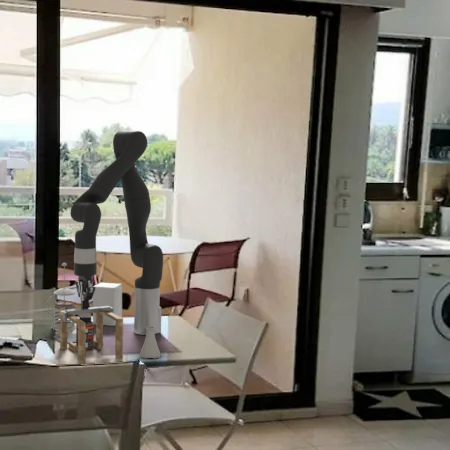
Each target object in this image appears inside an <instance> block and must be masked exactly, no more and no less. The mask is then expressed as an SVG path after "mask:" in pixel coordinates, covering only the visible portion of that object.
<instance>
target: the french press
mask: <svg viewBox="0 0 450 450" xmlns="http://www.w3.org/2000/svg"><path fill="white" fill-rule="evenodd" d="M67 265H68V263H66V262H63V263H61V266H62V267H63V287H62V288H61V287H60V288H58V289H56V290H55V291H53V295H51V296H50V297H48V299H47V300H46V302H45V309H46V312H47V313H48V314H49V315H51V316H52V317H53V318H52V321H53V322H52V327H53V326H54V327H55V330H56V332H60V311H64V310H69V309H76V308H75V307H76V306H75V305H74V304H75V303H74V301H72V300H65V298H66V297H65V296H74V295H75V294H76V291H75V290H73V289H71V288H70V287H69V288H68V287H66V285H65V284H66V283H65V281H66V277H65V276H66V275H65V274H66V273H65V272H66V268H65V267H67ZM56 296H63V300H58V301H55V302H54V305H55V306H54V307H53V312H51V311H50V309H49V305H48V304H49V303H48V302H49V300H50V299H51V298H52V300H56V299H55V298H56ZM74 316H75V315H74ZM75 317H76V316H75ZM75 329H76V323H74V322H72V321H71V320H69V319H67V332H72V330H73V331H76V330H75Z"/></svg>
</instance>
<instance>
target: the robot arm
mask: <svg viewBox="0 0 450 450" xmlns="http://www.w3.org/2000/svg"><path fill="white" fill-rule="evenodd" d="M112 146H113V151H114V152H113V153H114V155H115V160H114V161H113V162H112V163H109V165H108V166H106V167H105V168H104V169H102V170H101V171H100V173H99V174H98V175H97V176H96V177H95V179H94V180H93V182H92V184H90V185H89V188H88V189H87V190H86V191H84V193H82V194H81V195H80V196H79V197H78V198H77V199H76V200H75V201H74V203H73V204H72V206H71V208H70V217H71V219H72V220H73V221H75V222H77V223H83V225H82V229H79V230H76V232H75V234H74V253H73V274H74V276H77V277H78V280H76V281H75V287H76V292H77V295H78V296H77V297H78V298H79V299H80V308H89V307H90V300H92V301H93V294H94V291H95V287H93V286H94V285H93V277H94V276H96V275H97V270H98V269H97V266H98V265H97V264H98V263H97V260H98V259H97V257H98V256H97V254H98V253H97V234H98V230H99V228H100V227H99V226H100V223H101V218H102V211H101V208H100V206H99V204H103V203H105V202H106V201H107V200H108V198H109V197H110V195H111V193H112V192H113V190H114V189H115V187H116V186H117V184H118V183H119V182H120V181H121V187H122V192H123V193H122V194H123V200H124V206H125V212H126V218H127V228H128V233H129V235H128V236H129V251H130V252H129V253H130V259H131V261H132V263H133V265H134V266H135V267H138V268H141V269H142V273H141V276H140V277H137V278H135V280H134V308H133V309H134V311H133V312H134V314H133V315H134V316H133V319H134V321H133V333H135V334H136V335H140V336H146V333H147V329H146V327H147V326H154V327H155V335H157V334H160V333H162V307H161V306H160V295H161V294H160V293H161V292H160V291H161V290H160V288H161V287H160V286H161V285H160V284H161V281H162V279H163V268H164V254H163V249H162V248H161V247H160V246H159V245H156V244H154V243H153V244H152V243H149V242H148V237H147V223H148V221H149V218H150V215H151V211H152V210H151V209H152V204H151V198H150V192H149V189H148V186H147V184H146V183H145V181H144V179H143V178H142V176H141V175H140V173H139V172H138V170H137V168H136V164H135V163H136V162H137V161H138V160H139V159H140V158H141V157H142V156H143V154H144V153H145V151H146V149H147V147H148V138H147V136H146V134H145V133H144V132H142V131H141V130H126V129H125V130H118V131H117V132H116V133H115V134H114V136H113V140H112Z"/></svg>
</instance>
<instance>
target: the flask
mask: <svg viewBox="0 0 450 450" xmlns="http://www.w3.org/2000/svg"><path fill="white" fill-rule="evenodd" d="M146 329H147V333H146V335H145V338H144V341H143V345H142V346H141V347H142V348H141V350H140V353H139V356H138V357H139V358H141V359H147V358H153V359H158V358H160V357H161V356H162V354H161V351H160V349H159V346H158V342H157V339H156V334H155V327H154V326H147V327H146Z"/></svg>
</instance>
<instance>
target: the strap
mask: <svg viewBox="0 0 450 450" xmlns="http://www.w3.org/2000/svg"><path fill="white" fill-rule="evenodd" d="M106 311H110V312H112V313H113V308H112V307H110V306H99V307H93V306H89V308H81V307H79V308H75V309H69V310H65V311H63V321H64V322H67V320H68V318H67V315H88V314H93V313H97V312H106Z"/></svg>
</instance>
